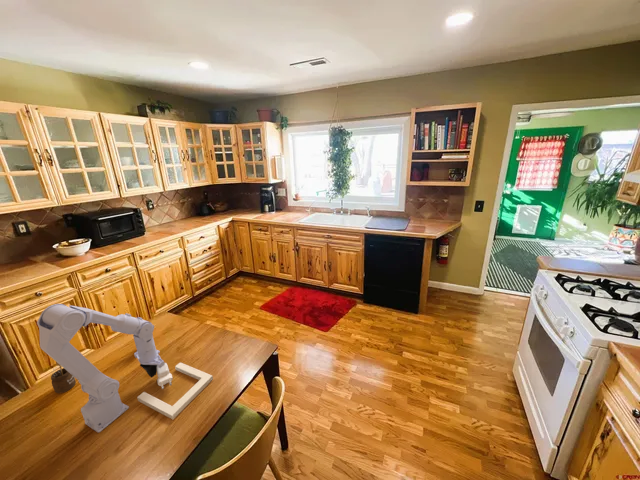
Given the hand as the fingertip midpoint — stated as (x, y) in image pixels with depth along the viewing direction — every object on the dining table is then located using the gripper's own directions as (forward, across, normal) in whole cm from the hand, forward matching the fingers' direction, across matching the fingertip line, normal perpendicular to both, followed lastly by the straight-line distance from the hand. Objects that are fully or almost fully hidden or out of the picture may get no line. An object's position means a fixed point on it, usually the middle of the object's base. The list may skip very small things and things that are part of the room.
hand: (153, 375), depth 102 cm
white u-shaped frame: (+1, -13, 0) cm, 13 cm away
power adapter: (+2, -7, 0) cm, 7 cm away
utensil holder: (+2, +28, +16) cm, 32 cm away
